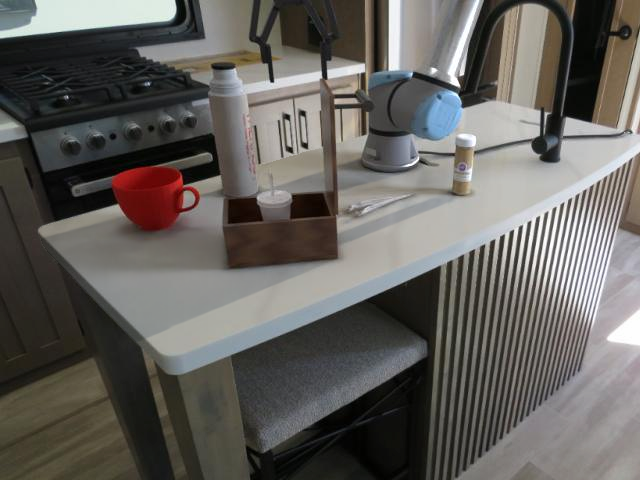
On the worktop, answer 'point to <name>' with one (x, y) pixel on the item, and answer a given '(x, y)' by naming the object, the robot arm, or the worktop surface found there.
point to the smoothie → (274, 203)
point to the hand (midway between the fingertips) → (298, 79)
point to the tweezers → (375, 201)
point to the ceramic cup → (152, 196)
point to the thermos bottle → (232, 131)
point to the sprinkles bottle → (463, 163)
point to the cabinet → (279, 231)
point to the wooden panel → (330, 134)
